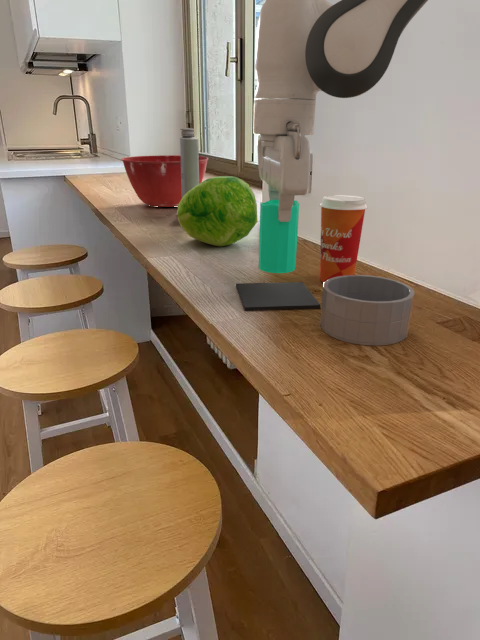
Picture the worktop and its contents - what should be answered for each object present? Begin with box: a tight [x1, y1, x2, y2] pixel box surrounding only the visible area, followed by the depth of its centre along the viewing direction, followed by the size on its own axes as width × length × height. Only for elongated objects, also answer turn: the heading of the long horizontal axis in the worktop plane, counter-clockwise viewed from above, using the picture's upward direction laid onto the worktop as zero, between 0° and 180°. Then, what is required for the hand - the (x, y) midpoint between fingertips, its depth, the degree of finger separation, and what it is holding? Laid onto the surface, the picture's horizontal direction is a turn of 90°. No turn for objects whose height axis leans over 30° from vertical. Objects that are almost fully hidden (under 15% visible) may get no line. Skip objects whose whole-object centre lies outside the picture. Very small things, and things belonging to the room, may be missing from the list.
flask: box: [179, 127, 200, 198], centre depth 138 cm, size 17×5×25 cm, turn 7°
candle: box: [258, 199, 300, 274], centre depth 78 cm, size 6×6×12 cm
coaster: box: [235, 281, 322, 312], centre depth 82 cm, size 12×12×1 cm
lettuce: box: [176, 175, 258, 247], centre depth 114 cm, size 17×20×17 cm
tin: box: [319, 274, 416, 347], centre depth 69 cm, size 12×12×6 cm
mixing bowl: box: [120, 154, 209, 207], centre depth 165 cm, size 28×28×16 cm
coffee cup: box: [319, 194, 368, 284], centre depth 88 cm, size 8×8×15 cm
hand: (279, 217), depth 77 cm, fingers closed on candle, 5 cm apart
